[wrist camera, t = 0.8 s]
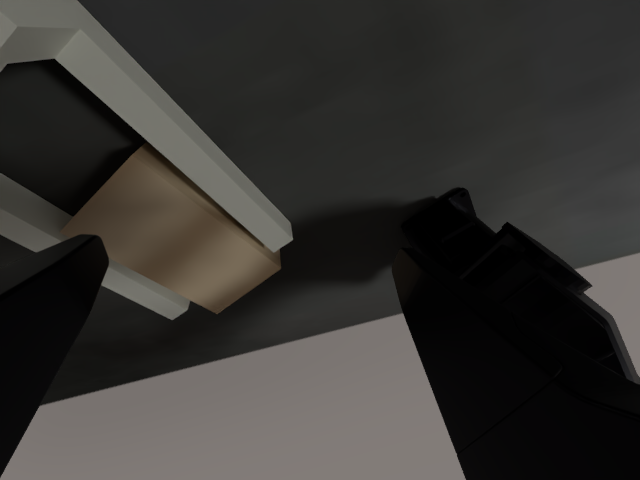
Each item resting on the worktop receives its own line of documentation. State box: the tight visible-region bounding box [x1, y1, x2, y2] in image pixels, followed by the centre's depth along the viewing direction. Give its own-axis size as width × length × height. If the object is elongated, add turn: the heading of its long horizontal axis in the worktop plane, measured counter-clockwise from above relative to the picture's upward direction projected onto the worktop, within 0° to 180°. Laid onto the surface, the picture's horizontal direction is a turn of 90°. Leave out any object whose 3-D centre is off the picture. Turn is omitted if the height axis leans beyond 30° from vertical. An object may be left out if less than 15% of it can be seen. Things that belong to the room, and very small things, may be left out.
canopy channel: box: [0, 0, 293, 320], centre depth 17 cm, size 20×14×6 cm
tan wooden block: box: [60, 142, 281, 314], centre depth 22 cm, size 13×8×3 cm, turn 37°
